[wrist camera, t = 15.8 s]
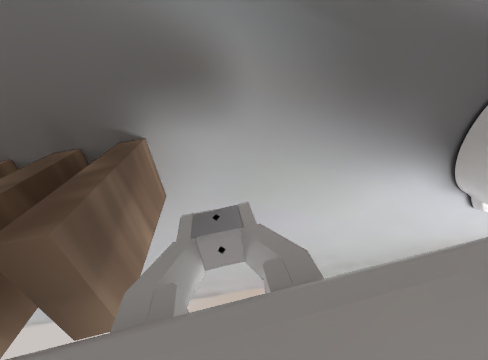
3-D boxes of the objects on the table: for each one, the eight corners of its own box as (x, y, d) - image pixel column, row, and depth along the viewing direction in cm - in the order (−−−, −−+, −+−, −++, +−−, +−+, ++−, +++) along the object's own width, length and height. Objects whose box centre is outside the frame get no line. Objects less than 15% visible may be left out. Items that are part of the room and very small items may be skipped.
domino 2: (145, 138, 14) (48, 234, 5) (166, 196, 17) (123, 328, 8) (119, 142, 14) (-25, 249, 5) (144, 200, 16) (74, 340, 8)
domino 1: (80, 148, 14) (-141, 271, 5) (111, 206, 16) (-1, 359, 7) (52, 153, 14) (-227, 289, 5) (88, 211, 16) (-55, 372, 7)
